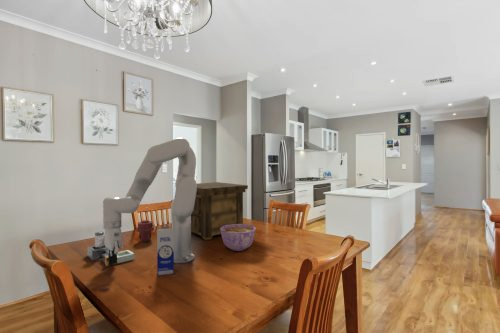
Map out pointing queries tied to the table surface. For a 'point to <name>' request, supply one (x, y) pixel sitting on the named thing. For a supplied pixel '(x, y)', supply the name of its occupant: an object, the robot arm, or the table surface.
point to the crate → (216, 208)
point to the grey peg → (99, 242)
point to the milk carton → (165, 251)
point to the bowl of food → (238, 236)
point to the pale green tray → (125, 256)
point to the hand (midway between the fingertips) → (112, 263)
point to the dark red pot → (145, 230)
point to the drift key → (105, 259)
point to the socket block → (95, 252)
